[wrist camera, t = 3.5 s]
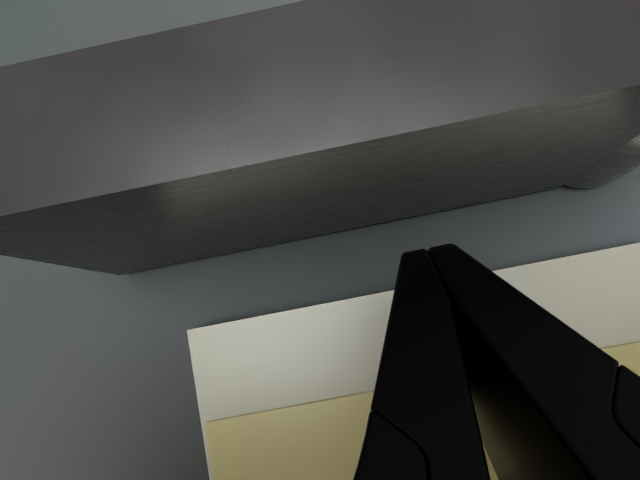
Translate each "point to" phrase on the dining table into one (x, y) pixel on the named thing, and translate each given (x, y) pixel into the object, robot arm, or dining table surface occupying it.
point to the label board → (365, 366)
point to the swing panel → (310, 124)
